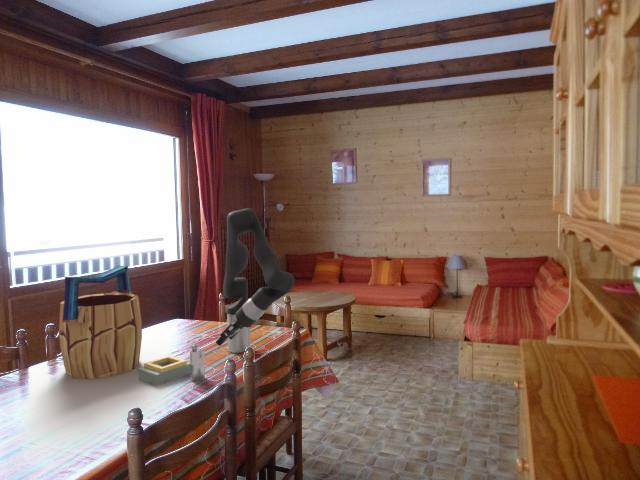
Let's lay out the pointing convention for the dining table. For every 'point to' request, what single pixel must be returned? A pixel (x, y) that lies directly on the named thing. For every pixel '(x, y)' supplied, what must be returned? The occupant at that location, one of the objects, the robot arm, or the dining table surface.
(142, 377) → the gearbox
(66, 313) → the bucket
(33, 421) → the dining table surface
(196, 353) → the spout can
